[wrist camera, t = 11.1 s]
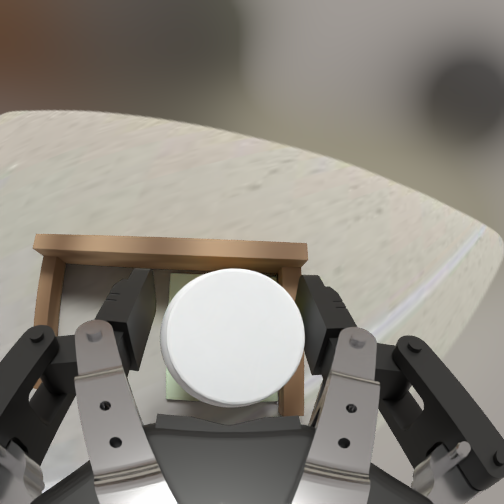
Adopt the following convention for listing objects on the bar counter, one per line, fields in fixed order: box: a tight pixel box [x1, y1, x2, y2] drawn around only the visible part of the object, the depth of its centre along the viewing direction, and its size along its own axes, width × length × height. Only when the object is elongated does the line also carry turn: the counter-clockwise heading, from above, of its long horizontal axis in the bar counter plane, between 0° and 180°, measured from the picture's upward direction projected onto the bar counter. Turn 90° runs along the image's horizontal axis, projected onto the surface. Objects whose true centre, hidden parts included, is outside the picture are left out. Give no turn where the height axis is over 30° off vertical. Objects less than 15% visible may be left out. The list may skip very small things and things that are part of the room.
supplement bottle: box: [160, 269, 305, 408], centre depth 12 cm, size 5×5×10 cm
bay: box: [33, 234, 308, 417], centre depth 15 cm, size 17×10×3 cm, turn 90°
